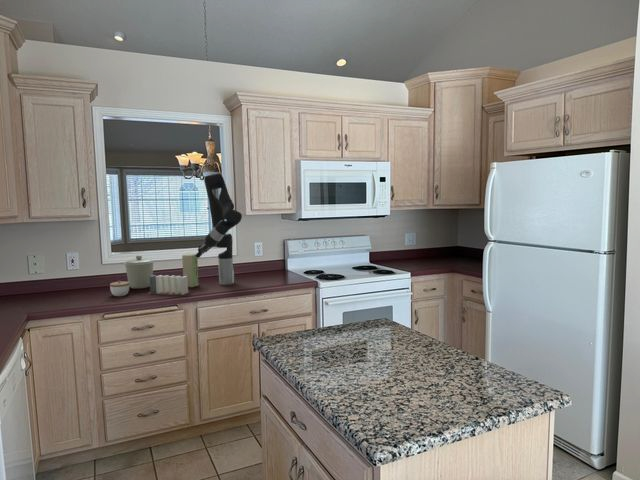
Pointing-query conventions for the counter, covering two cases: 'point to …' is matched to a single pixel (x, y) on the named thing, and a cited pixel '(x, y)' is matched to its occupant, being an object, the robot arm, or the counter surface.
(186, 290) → the domino
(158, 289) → the domino
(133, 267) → the canister
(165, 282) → the domino
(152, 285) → the domino
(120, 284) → the lidded jar
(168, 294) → the runner
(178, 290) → the domino
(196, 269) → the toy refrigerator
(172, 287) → the domino
